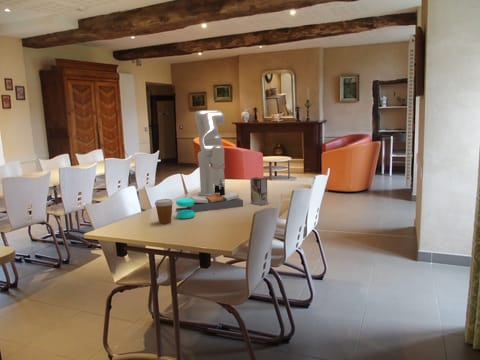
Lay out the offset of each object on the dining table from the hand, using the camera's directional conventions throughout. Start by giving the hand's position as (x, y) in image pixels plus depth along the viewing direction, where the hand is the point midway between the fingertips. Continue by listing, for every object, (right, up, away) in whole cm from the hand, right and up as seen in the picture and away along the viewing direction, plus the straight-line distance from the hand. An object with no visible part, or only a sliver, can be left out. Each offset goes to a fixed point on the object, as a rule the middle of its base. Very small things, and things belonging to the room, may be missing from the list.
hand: (219, 194), depth 245 cm
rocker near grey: (-12, -4, -4) cm, 14 cm away
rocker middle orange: (-3, -3, -1) cm, 5 cm away
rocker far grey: (+6, -2, +3) cm, 7 cm away
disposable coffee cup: (-27, -14, -33) cm, 45 cm away
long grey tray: (-7, -8, -1) cm, 11 cm away
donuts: (-18, -12, -21) cm, 30 cm away
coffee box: (+25, -6, +7) cm, 26 cm away
